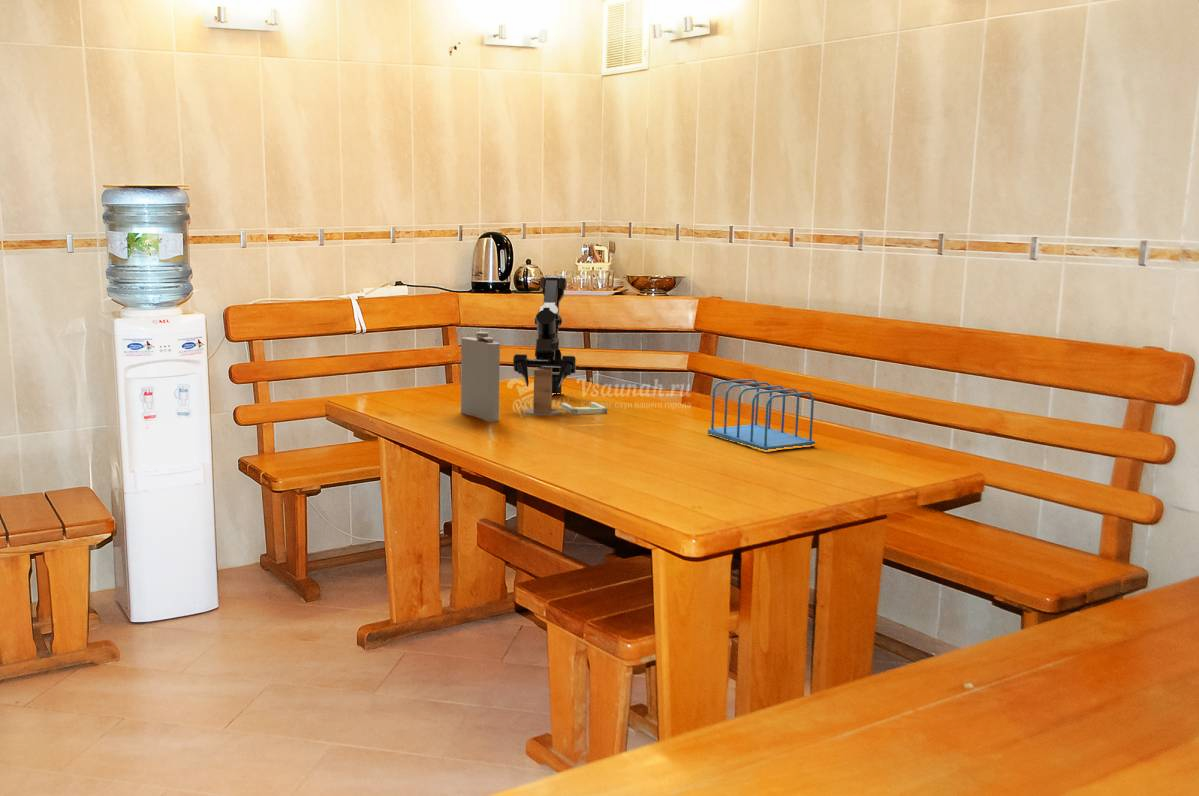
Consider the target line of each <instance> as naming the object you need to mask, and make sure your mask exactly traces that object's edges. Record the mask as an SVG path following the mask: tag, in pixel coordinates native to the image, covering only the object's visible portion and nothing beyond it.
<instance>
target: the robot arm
mask: <svg viewBox="0 0 1199 796" xmlns="http://www.w3.org/2000/svg"><path fill="white" fill-rule="evenodd" d="M539 285H540V287H539V289H540V290H542V295H543V303H542V305H541V306H540V307H539V308H538V312H537V314H535V316H534V317H535V318H534V326H536V331H537V339H536V340H535V341H536V343H535V349H534V350H535V351H534V357H535V358H528V355H527V354H526V353H525V354H523V353H522V354H521V353H515V354H514V356H513V359H512V361H513V371H514V372H517V373H518V375H519V374H520V375H522V377H523V379H524V382H525V385H526V387H529V370H528V367H529V366H530V367H543V368H552V393H556V394H557V393H561V392H562V384H563V382H564V380H565V379H566V378H567V377H568V376H571V375H572V374H575V373H576V370H577V367H576V366H577V364H576V361H577V359H576V356H574V355H563V354H562V352H561V350H560V338H559V327H561V326H562V324H563V318H562V316H561V315H560V313H559V312H560V303H561V300H562V299H563V298H564V296H565V291H567V278H565V277H564V275H544V277H540V284H539Z"/></svg>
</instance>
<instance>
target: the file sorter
mask: <svg viewBox="0 0 1199 796" xmlns="http://www.w3.org/2000/svg"><path fill="white" fill-rule="evenodd" d="M743 382H744V383H743ZM745 382H746V383H745ZM747 382H749V383H747ZM730 383H736V384H732V385H729V386H728V388H727V389H726V390H725V398H724V403H725V404H724V417H723V418H724V419H723V427H714V425H715V423H714V422H715V403H716V402H715V401H716V389H717V388H718V386H720V385H721V384H730ZM760 385H762V386H760ZM744 386H746V387H745V388H743V389H742V390H741V391H740V393H739V394H738V400H737V401H738V403H737V404H738V405H737V424H736V425H734V426H727V423H728V422H727V420H728V419H727V417H728V401H729V399H728V397H729V392H730V390H731V389H732V388H734V387H735V388H736V387H744ZM747 386H753V387H747ZM774 388H775V389H774ZM776 388H779V389H776ZM762 389H763V390H762ZM764 389H769V390H764ZM751 390H752V391H753V390H756V393H755V394H754V395H753V397H752V401H751V418H750V419H751V420H750V424H744V425H741V424H740V422H741V403H742V401H741V400H742V395H743V394H744V393H745V392H746V391H751ZM779 392H780V394H773V393H779ZM781 392H782V394H781ZM786 392H791V393H786ZM792 392H793V393H792ZM761 394H769V398H768V399H767V401H766V405H765V417H764V418H765V421H764V425H762V424H758V418H759V417H758V414H759V401H760V400H759V399H760V397H759V396H760V395H761ZM800 395H807V396H809V397H810V401H811V402H810V418H809V419H810V420H809V421H810V422H809V438H806V437H802V436H799V435H798V431H799V427H798V426H799V411H800V410H799V409H800ZM790 396H796V409H795V410H796V411H795V431H794V433H795V434H792V433H788V432H785V431H784V425H785V412H786V397H790ZM780 397H782V409H781V410H782V411H781V413H782V414H781V426H780V427H781V428H780V429H781V430H778V429H775V428H772V427H771V417H772V403H773V401H772V400H773V399H774V398H780ZM711 399H712V402H711V403H712V404H711V422H710V423H711V424H710V425H711V427H710V428H708V429H707V435H708V434H712V435H715V436H718V437H722V438H725V439H728V440H732V441H735V442H739V443H743V444H746V445H750V446H753V447H757V448H760V449H764V450H768V449H776V448H784V447H793V446H803V445H812V444H815V445H816V441H815V440H813V423H814V422H813V421H814V405H815V404H814V403H815V401H814V395H813V394H812V393H811V392H809V391H804V392H799V391H798V390H797V389H795V388H784V387H783V386H782V385H777V384H776V385H771V384H770V383H769V382H766V381H762V382H758V381H757V380H756V379H754V378H746V379H733V380H724V381H721V380H720V381H718V382H717V383H716V384H715V385H714V387H713V390H712V397H711Z"/></svg>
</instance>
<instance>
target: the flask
mask: <svg viewBox="0 0 1199 796" xmlns="http://www.w3.org/2000/svg"><path fill="white" fill-rule="evenodd" d="M489 334H490V332H488V331H477V332H475V337H473V336H472V337H470V336H467V337H461V344H460V345H461V349H460V350H461V353H460V356H461V357H460V362H461V363H460V365H461V366H460V413H461V414H462V415H468V416H472V417H475V418H478V419H480V420H482V421H485V422H490V423H492V422H493V423H495V422H496V423H497V422H498V421H499V420H500V367H501V365H500V364H501V363H500V359H501V358H500V356H501V355H500V354H501V351H500V350H501V349H500V347H501V345H500V344H501V343H500V342H496V341H495V338H494V337H492V336H489Z"/></svg>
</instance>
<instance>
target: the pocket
mask: <svg viewBox="0 0 1199 796" xmlns="http://www.w3.org/2000/svg"><path fill="white" fill-rule="evenodd" d="M560 409H562V410H564V412H565V411H566V412H567V413H568V414H570V415H572V416H574V415H596V414H597V415H599V414H608V407H606V406H604V405H601V404H600V403H597V402H595V401H590V402H589V406H581V407H574V406H572V405H570V404H569V403H566V402H561V403H560Z"/></svg>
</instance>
